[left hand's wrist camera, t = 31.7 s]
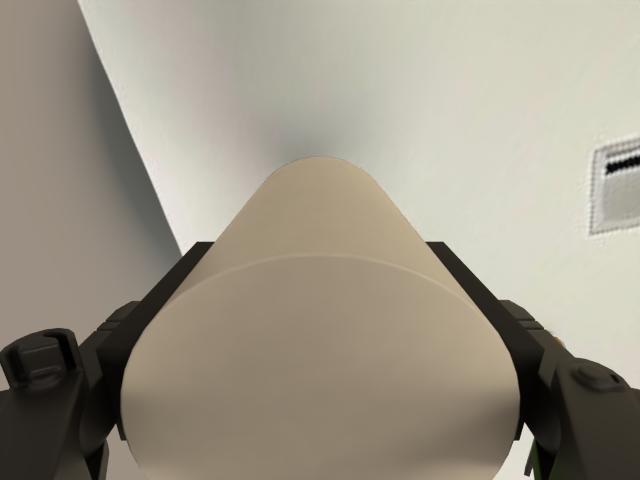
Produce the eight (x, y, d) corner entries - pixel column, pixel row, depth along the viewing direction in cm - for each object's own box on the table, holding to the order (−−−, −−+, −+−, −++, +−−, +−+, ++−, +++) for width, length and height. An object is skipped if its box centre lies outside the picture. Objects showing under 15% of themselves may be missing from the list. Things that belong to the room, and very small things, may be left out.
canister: (264, 137, 17) (137, 195, 5) (414, 180, 18) (604, 318, 6) (234, 275, 20) (105, 522, 8) (365, 308, 21) (429, 577, 9)
